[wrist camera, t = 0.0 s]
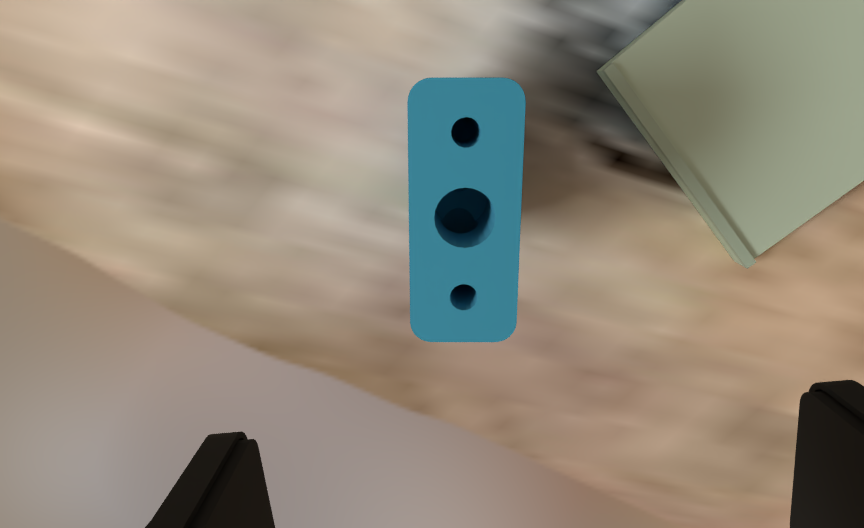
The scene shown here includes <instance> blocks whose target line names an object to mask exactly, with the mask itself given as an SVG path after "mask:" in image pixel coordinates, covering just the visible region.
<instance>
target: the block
mask: <svg viewBox="0 0 864 528" xmlns="http://www.w3.org/2000/svg"><path fill="white" fill-rule="evenodd" d="M525 105H526V101H525V94H524V92H523V89H522V88H521V87H520V85H519V84H518V83H516V82H515V81H513V80H511V79H509V78H426V79H423V80H421V81H419V82H418V83H416V84H415V85H414V86H413V88H412V89H411V91H410V93H409V96H408V173H409V256H410V324H411V328H412V331H413V333H414V334H415V335H416V336H417V337H418V338H420V339H421V340H424V341H428V342H499V341H502V340H505V339H507V338H508V337H510V335H511V334H512V333H513V332H514V330H515V328H516V321H517V297H518V273H519V249H520V225H521V201H522V177H523V153H524V129H525Z"/></svg>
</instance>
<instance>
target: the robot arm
mask: <svg viewBox="0 0 864 528" xmlns="http://www.w3.org/2000/svg"><path fill="white" fill-rule="evenodd" d="M145 528H275V525H274V520H273V515H272V511H271V506H270V501H269V496H268V491H267V487H266V482H265V477H264V472H263V467H262V462H261V457H260V453H259V448H258V444H257V442H256V440H254V439H249V440H248V439H247V437H246V435H245V433H243V432H232V433H220V434H211V435H208V437H206V439H205V440H204V442H203V443H202V445H201V446H200V448H199V450H198V451H197V452H196V454H195V455H194V457H193V458H192V460H191V461H190V463H189V465H188V466H187V467H186V469H185V470H184V472H183V474H182V475H181V476H180V478H179V479H178V481H177V483H176V484H175V485H174V487H173V488H172V490H171V491H170V493H169V495H168V496H167V497H166V499H165V500H164V502H163V503H162V505H161V506H160V508H159V509H158V511H157V512H156V514H155V515H154V517H153V519H152V520H151V521H150V522H149V524H148V525H147V526H146V527H145ZM790 528H864V386H862V385H861V384H859V383H858V382H856V381H853V380H843V381H832V382H820V383H815V384H813V385H812V386H811V387H810V389H809V392H805V393H804V394H803V395H802V396H801V399H800V407H799V419H798V431H797V443H796V455H795V467H794V480H793V492H792V504H791V516H790Z"/></svg>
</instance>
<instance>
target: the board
mask: <svg viewBox="0 0 864 528" xmlns="http://www.w3.org/2000/svg"><path fill="white" fill-rule="evenodd" d="M596 72H597V73H598V75H599V76H600V77H601V79H602V80H603V81H604V83H605V84H606V86H607V87H608V88H609V90H610V91H611V92H612V94H613V95H614V97H615V98H616V99H617V101H618V102H619V103H620V105H621V106H622V108H623V109H624V110H625V112H626V113H627V114H628V116H629V117H630V119H631V120H632V121H633V123H634V124H635V125H636V127H637V128H638V130H639V131H640V132H641V134H642V135H643V136H644V138H645V139H646V141H647V142H648V143H649V145H650V146H651V147H652V149H653V150H654V152H655V153H656V154H657V156H658V157H659V158H660V160H661V161H662V163H663V164H664V165H665V167H666V168H667V169H668V171H669V172H670V174H671V175H672V176H673V178H674V179H675V180H676V182H677V183H678V185H679V186H680V187H681V189H682V190H683V191H684V193H685V194H686V196H687V197H688V198H689V200H690V201H691V202H692V204H693V205H694V207H695V208H696V209H697V211H698V212H699V213H700V215H701V216H702V218H703V219H704V220H705V222H706V223H707V224H708V226H709V227H710V229H711V230H712V231H713V233H714V234H715V235H716V237H717V238H718V240H719V241H720V242H721V244H722V245H723V246H724V248H725V249H726V251H727V252H728V253H729V255H730V256H731V257H732V259H733V260H734V261H735V262H737V263H738V264H740V265H742V266H744V267H745V268H747V269H748V268H749V267H750V266H752V265H753V264H755V263H756V261H755V260H754V259H755V258H756V257H757V256H759V255H760V254H762V253H763V252H764V251H766V250H767V249H769V248H770V247H771V246H773V245H774V244H776V243H777V242H778V241H780V240H781V239H783V238H784V237H785V236H787V235H788V234H790V233H791V232H792V231H794V230H795V229H797V228H798V227H799V226H801V225H802V224H804V223H805V222H806V221H808V220H809V219H811V218H812V217H813V216H815V215H816V214H818V213H819V212H820V211H822V210H823V209H825V208H826V207H827V206H829V205H830V204H832V203H833V202H834V201H836V200H837V199H839V198H840V197H841V196H843V195H844V194H846V193H847V192H848V191H850V190H851V189H853V188H854V187H855V186H857V185H858V184H860V183H861V182H862V181H864V0H682V1H681V2H679V3H678V4H677V5H676V6H675V7H673V8H672V9H671V10H670V11H669V12H667V13H666V14H665V15H664V16H663V17H661V18H660V19H659V20H658V21H656V22H655V23H654V24H653V25H652V26H650V27H649V28H648V29H647V30H646V31H644V32H643V33H642V34H641V35H640V36H638V37H637V38H636V39H635V40H634V41H632V42H631V43H630V44H629V45H627V46H626V47H625V48H624V49H623V50H621V51H620V52H619V53H618V54H617V55H615V56H614V57H613V58H612V59H611V60H609V61H608V62H607V63H606V64H605V65H603V66H602V67H601V68H600V69H599V70H597V71H596Z"/></svg>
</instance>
